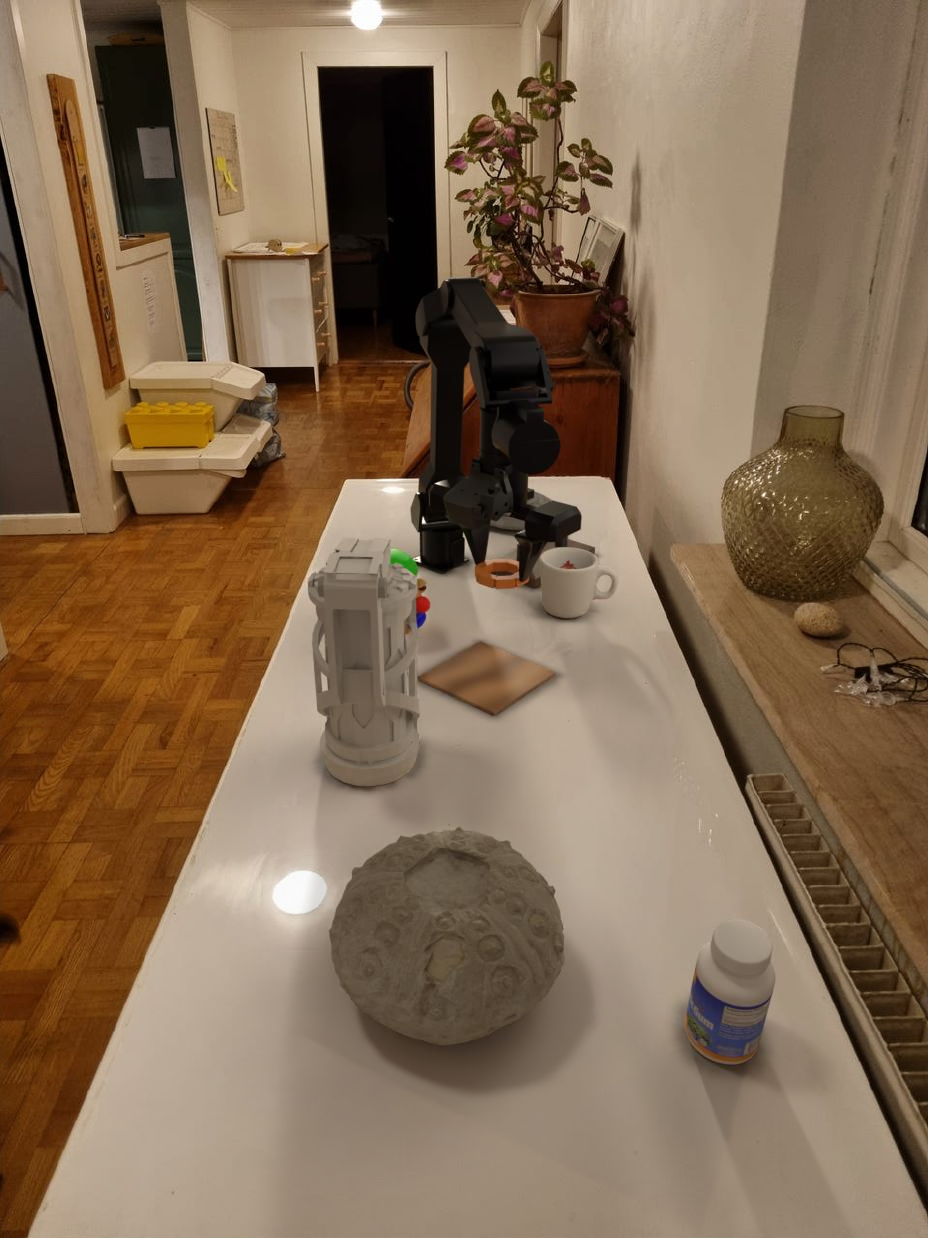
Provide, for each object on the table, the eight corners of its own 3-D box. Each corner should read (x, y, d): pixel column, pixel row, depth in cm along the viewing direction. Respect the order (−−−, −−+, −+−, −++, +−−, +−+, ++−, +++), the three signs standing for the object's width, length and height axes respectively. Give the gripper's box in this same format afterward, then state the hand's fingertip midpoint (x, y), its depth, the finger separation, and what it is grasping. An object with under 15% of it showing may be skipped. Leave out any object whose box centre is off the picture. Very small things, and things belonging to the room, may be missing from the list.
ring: (464, 579, 112) (464, 570, 111) (497, 563, 116) (497, 554, 116) (506, 593, 108) (506, 584, 108) (538, 576, 112) (538, 567, 112)
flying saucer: (546, 542, 150) (548, 510, 148) (461, 529, 155) (461, 498, 152) (570, 511, 163) (572, 482, 160) (490, 500, 167) (491, 471, 165)
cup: (613, 600, 131) (618, 549, 128) (615, 626, 124) (621, 572, 121) (537, 596, 132) (540, 545, 129) (536, 622, 125) (539, 568, 122)
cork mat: (417, 679, 112) (417, 676, 112) (480, 643, 120) (480, 640, 120) (494, 715, 105) (494, 712, 105) (555, 675, 113) (555, 672, 113)
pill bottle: (675, 1006, 70) (691, 912, 65) (744, 1002, 70) (764, 908, 66) (697, 1070, 65) (716, 973, 61) (771, 1065, 66) (795, 968, 61)
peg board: (486, 571, 140) (487, 541, 137) (548, 541, 151) (550, 512, 148) (534, 588, 135) (536, 557, 132) (594, 555, 145) (597, 526, 143)
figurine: (335, 642, 120) (330, 558, 114) (374, 612, 127) (371, 532, 122) (410, 663, 115) (409, 576, 109) (447, 631, 123) (447, 548, 117)
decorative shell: (597, 1041, 67) (608, 941, 62) (356, 1104, 63) (349, 1002, 58) (516, 874, 82) (520, 784, 78) (317, 915, 78) (309, 822, 73)
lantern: (329, 729, 102) (315, 518, 91) (423, 731, 102) (420, 520, 90) (308, 803, 91) (289, 573, 79) (414, 806, 90) (409, 576, 79)
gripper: (396, 448, 105) (399, 574, 112) (528, 482, 94) (523, 618, 101) (459, 428, 112) (458, 547, 119) (588, 458, 102) (579, 586, 109)
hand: (501, 573), depth 112 cm, fingers closed on ring, 6 cm apart
